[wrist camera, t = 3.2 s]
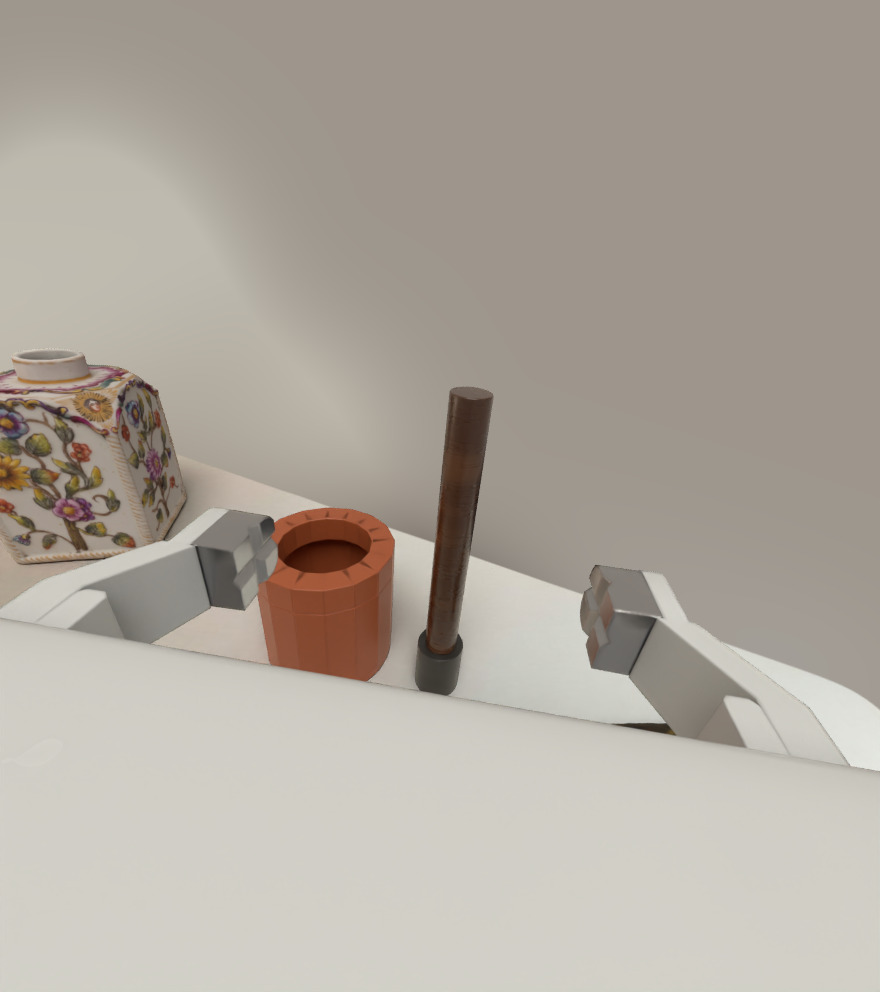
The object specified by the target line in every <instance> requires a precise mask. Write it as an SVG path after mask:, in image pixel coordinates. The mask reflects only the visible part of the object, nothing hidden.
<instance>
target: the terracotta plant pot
mask: <svg viewBox="0 0 880 992" xmlns="http://www.w3.org/2000/svg"><path fill="white" fill-rule="evenodd" d="M274 525H275V532H274V533H273V534H272V536H271V538H272V539H273V540H274V541H275V543H276V544H277V546H278V562H277V564H276V567H275V570H274V572H273V574H272V575H271V577H270V578H269V579H268V580H267V581H265V582H263V583H261V584H259V585H258V588H259V593H258V594H257V595H258V601H259V606H260V612H261V617H262V623H263V629H264V634H265V640H266V645H267V651H268V656H269V661H270V663H271V665H275V666H280V667H286V668H292V669H298V670H303V671H309V672H315V673H321V674H327V675H332V676H338V677H344V678H349V679H355V680H361V681H367V680H369V679H370V678H371V677H372V676H373V675H374V674H375V673H376V672H377V671H378V670H379V669H380V668H381V666H382V665H383V663H384V661H385V660H386V658H387V655H388V652H389V648H390V637H391V627H392V600H393V574H394V547H395V540H394V538H393V536H392V534H391V532H390V531H389V529H388V527H387V526H386V525H385V524H384V523H382V522H381V521H379V520H378V519H376V518H375V517H373V516H371V515H369V514H366V513H362V512H359V511H356V510H353V509H340V508H321V509H313V510H306V511H301V512H298V513H295V514H293V515H290V516H287V517H284V518H281V519H279V520H278V521H276V522H275V523H274Z"/></svg>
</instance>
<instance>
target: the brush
mask: <svg viewBox="0 0 880 992" xmlns="http://www.w3.org/2000/svg"><path fill="white" fill-rule="evenodd" d="M492 404H493V394H492V393H491V392H489V391H487V390H484V389H480V388H474V387H456V388H453V389H451V390H450V393H449V403H448V414H447V424H446V434H445V445H444V455H443V465H442V476H441V486H440V496H439V506H438V517H437V527H436V537H435V547H434V557H433V568H432V578H431V588H430V599H429V609H428V619H427V629H426V630H424V631H423V632H422V633H421V635H420V637H419V640H418V651H417V662H416V674H415V681H416V684H417V686H418V688H419V689H420V690H421V691H423V692H429V693H435V694H440V695H446V696H447V695H449V694H450V693H451V692H452V691H453V690H454V689H455V687H456V684H457V679H458V673H459V667H460V661H461V655H462V649H463V642H462V639H461V637H460V636H459V634H458V628H459V621H460V615H461V608H462V602H463V595H464V588H465V582H466V575H467V569H468V562H469V555H470V549H471V542H472V536H473V529H474V522H475V516H476V509H477V503H478V496H479V489H480V483H481V476H482V470H483V463H484V456H485V449H486V443H487V436H488V430H489V423H490V417H491V410H492Z"/></svg>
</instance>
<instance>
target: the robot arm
mask: <svg viewBox="0 0 880 992" xmlns="http://www.w3.org/2000/svg"><path fill="white" fill-rule="evenodd" d="M274 532H275V525H274V520H273V519H272V518H271V517H270V516H265V515H259V514H254V513H248V512H242V511H236V510H230V509H223V508H216V507H215V508H209V509H208V510H207V511H205V512H204V513H203V514H202V515H200V516H199V517H198V518H197V519H195V520H194V521H193V522H192V523H190V524H189V525H188V526H187V527H185V528H184V529H183V530H182V531H180V532H179V533H178V534H177V535H176V536H174V537H173V538H172V539H171V540H169V541H159V542H156V543H153V544H150V545H147V546H144V547H141V548H138V549H135V550H131V551H128V552H125V553H122V554H119V555H116V556H113V557H110V558H107V559H104V560H101V561H98V562H95V563H92V564H88V565H85V566H82V567H79V568H76V569H73V570H70V571H67V572H64V573H61V574H58V575H55V576H52V577H49V578H45V579H42V580H41V581H39V582H38V583H36V584H35V585H33V586H32V587H30V588H29V589H28V590H26V591H25V592H23V593H22V594H20V595H19V596H17V597H16V598H14V599H13V600H11V601H10V602H8V603H7V604H5V605H4V606H2V607H1V608H0V992H880V771H875V770H869V769H864V768H858V767H852V766H850V764H849V763H848V762H847V760H846V759H845V757H844V756H843V754H842V753H841V752H840V750H839V749H838V747H837V746H836V745H835V743H834V742H833V740H832V739H831V738H830V736H829V735H828V733H827V732H826V730H825V729H824V728H823V726H822V725H821V723H820V722H819V721H818V719H817V718H816V716H815V715H814V713H813V712H812V711H811V709H810V708H809V707H808V706H806V705H805V704H804V703H802V702H801V701H800V700H798V699H797V698H796V697H794V696H793V695H792V694H790V693H789V692H788V691H786V690H785V689H784V688H782V687H781V686H780V685H778V684H777V683H776V682H774V681H773V680H772V679H770V678H769V677H768V676H766V675H765V674H764V673H762V672H761V671H760V670H758V669H757V668H756V667H754V666H753V665H751V664H750V663H749V662H747V661H746V660H745V659H743V658H742V657H741V656H739V655H738V654H737V653H735V652H734V651H733V650H731V649H730V648H729V647H727V646H726V645H725V644H723V643H722V642H721V641H719V640H718V639H717V638H715V637H714V636H713V635H711V634H710V633H709V632H707V631H706V630H704V629H703V628H702V627H701V626H699V625H698V624H695V623H690V622H689V620H688V618H687V617H686V615H685V613H684V611H683V609H682V608H681V606H680V604H679V602H678V600H677V598H676V597H675V595H674V593H673V591H672V589H671V587H670V586H669V584H668V582H667V580H666V579H665V577H664V575H662V574H661V573H658V572H649V571H641V570H638V571H636V570H629V569H622V568H614V567H607V566H600V565H595V567H594V568H593V570H592V572H591V574H590V578H589V579H590V582H591V586H592V587H591V588H589V589H588V590H586V591H585V592H584V595H583V598H582V601H581V609H580V620H581V626H582V630H583V631H584V632H585V633H586V634H587V635H588V636H589V637H588V640H587V643H586V648H587V652H588V657H589V661H590V665H591V668H593V669H598V670H603V671H609V672H614V673H619V674H624V675H629V678H630V679H631V681H632V682H633V683H634V684H635V685H636V687H637V688H638V689H639V690H640V691H641V693H642V694H643V695H644V696H645V698H646V699H647V700H648V701H649V702H650V704H651V705H652V706H653V707H654V708H655V710H656V711H657V712H658V713H659V715H660V716H661V717H662V718H663V719H664V721H665V722H666V723H667V724H668V725H669V727H670V728H671V729H672V730H673V732H674V733H675V734H676V735H677V736H675V735H669V734H663V733H658V732H652V731H646V730H640V729H635V728H629V727H623V726H618V725H612V724H606V723H600V722H595V721H589V720H583V719H578V718H572V717H566V716H560V715H555V714H549V713H543V712H538V711H532V710H526V709H520V708H515V707H509V706H503V705H498V704H492V703H486V702H480V701H475V700H469V699H463V698H458V697H452V696H446V695H440V694H435V693H429V692H423V691H418V690H412V689H406V688H401V687H395V686H389V685H384V684H378V683H372V682H366V681H361V680H355V679H349V678H344V677H338V676H332V675H327V674H321V673H315V672H309V671H303V670H298V669H292V668H286V667H280V666H275V665H269V664H263V663H257V662H251V661H246V660H240V659H234V658H228V657H222V656H217V655H211V654H205V653H200V652H194V651H188V650H183V649H177V648H171V647H166V646H160V645H155V644H151V643H153V642H154V641H156V640H158V639H159V638H161V637H163V636H164V635H166V634H168V633H169V632H171V631H173V630H175V629H176V628H178V627H180V626H181V625H183V624H185V623H186V622H188V621H190V620H191V619H193V618H195V617H196V616H198V615H200V614H201V613H203V612H205V611H206V610H208V609H210V608H211V606H214V607H221V608H229V609H236V610H243V611H245V610H246V608H247V607H248V606H249V604H250V603H251V602H252V600H253V599H254V598H255V597H256V595H257V594H258V593H259V588H258V585H259V584H261V583H263V582H265V581H267V580H268V579H269V578H270V577H271V575H272V574H273V572H274V570H275V567H276V564H277V562H278V546H277V544H276V543H275V541H274V540H273V539H272V538H271V536H272V534H273V533H274Z"/></svg>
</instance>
